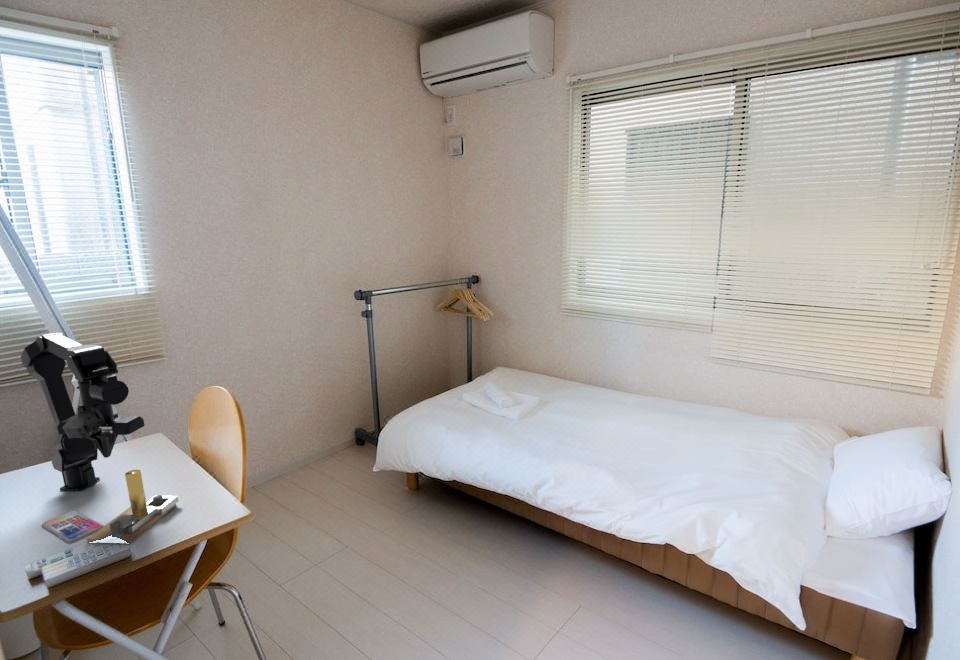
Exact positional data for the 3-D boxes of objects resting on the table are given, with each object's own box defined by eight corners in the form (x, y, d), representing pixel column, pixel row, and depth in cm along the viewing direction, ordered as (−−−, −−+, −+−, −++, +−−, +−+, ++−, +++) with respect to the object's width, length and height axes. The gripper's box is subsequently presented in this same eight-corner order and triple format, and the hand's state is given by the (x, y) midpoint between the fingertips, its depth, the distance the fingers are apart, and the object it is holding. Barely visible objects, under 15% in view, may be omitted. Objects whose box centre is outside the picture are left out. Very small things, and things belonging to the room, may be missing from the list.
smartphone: (75, 509, 130) (105, 525, 122) (76, 512, 130) (106, 529, 123) (39, 523, 124) (68, 541, 116) (40, 527, 124) (69, 545, 116)
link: (156, 500, 131) (148, 454, 129) (178, 501, 131) (171, 455, 128) (115, 532, 118) (105, 482, 116) (140, 533, 118) (130, 482, 115)
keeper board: (87, 543, 117) (83, 525, 116) (138, 504, 132) (136, 489, 131) (129, 544, 116) (126, 527, 115) (176, 505, 131) (173, 489, 130)
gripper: (30, 409, 121) (44, 471, 124) (105, 410, 119) (117, 472, 122) (71, 393, 132) (82, 451, 135) (140, 393, 130) (150, 451, 133)
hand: (107, 456), depth 131 cm, fingers closed
